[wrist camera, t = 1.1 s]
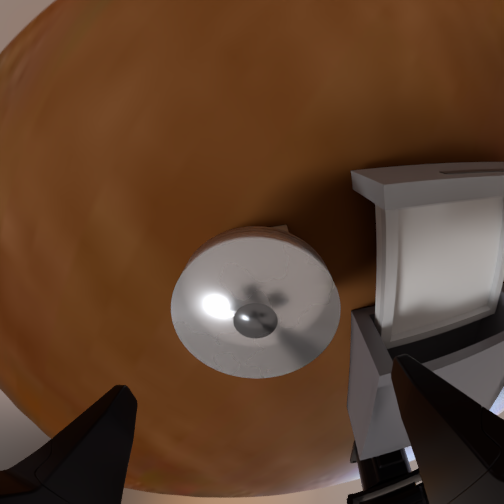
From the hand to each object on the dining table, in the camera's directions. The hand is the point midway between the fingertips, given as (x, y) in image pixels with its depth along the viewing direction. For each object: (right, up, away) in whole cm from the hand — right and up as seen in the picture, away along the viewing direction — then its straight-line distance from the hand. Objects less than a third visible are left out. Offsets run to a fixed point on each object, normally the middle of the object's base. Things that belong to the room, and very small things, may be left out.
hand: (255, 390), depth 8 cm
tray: (+12, +4, +7) cm, 15 cm away
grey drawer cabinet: (+14, -4, +11) cm, 18 cm away
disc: (0, +2, +5) cm, 5 cm away
